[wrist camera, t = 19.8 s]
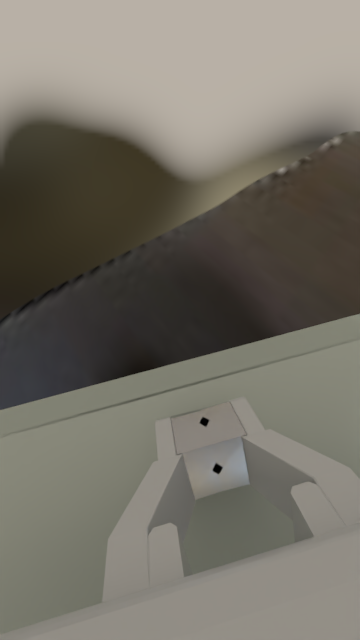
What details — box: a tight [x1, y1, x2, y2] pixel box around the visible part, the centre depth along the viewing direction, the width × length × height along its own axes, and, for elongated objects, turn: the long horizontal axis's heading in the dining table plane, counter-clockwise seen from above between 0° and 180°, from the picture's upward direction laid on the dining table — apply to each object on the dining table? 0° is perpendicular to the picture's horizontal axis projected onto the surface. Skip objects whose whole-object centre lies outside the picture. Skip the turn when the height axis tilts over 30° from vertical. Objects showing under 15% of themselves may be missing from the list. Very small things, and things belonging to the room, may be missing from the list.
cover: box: [0, 314, 360, 634], centre depth 9 cm, size 15×20×2 cm
